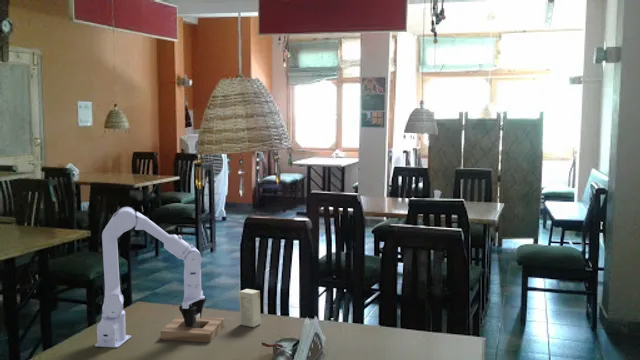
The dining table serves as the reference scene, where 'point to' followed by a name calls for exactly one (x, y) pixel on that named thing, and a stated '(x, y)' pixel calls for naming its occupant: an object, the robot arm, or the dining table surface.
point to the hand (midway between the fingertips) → (193, 322)
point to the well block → (193, 330)
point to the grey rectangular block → (195, 321)
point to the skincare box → (250, 307)
